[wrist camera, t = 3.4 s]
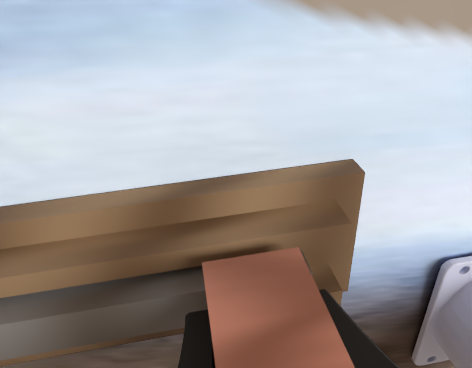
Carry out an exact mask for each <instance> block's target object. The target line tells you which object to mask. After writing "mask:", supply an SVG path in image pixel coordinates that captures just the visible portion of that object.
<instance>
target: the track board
mask: <svg viewBox="0 0 472 368" xmlns="http://www.w3.org/2000/svg"><path fill="white" fill-rule="evenodd" d="M364 176H365V172H364V171H363V170H362V169H361V167H360V166H359V165H358V164H357V163H356V162H355V161H354V160H353V159H350V160H343V161H335V162H328V163H321V164H313V165H306V166H299V167H291V168H284V169H276V170H269V171H262V172H254V173H247V174H240V175H232V176H225V177H218V178H210V179H203V180H195V181H188V182H181V183H173V184H166V185H159V186H151V187H144V188H137V189H129V190H122V191H114V192H107V193H100V194H92V195H85V196H78V197H70V198H63V199H56V200H48V201H41V202H33V203H26V204H19V205H11V206H4V207H0V298H5V297H11V296H17V295H23V294H30V293H36V292H42V291H48V290H54V289H60V288H67V287H73V286H79V285H85V284H91V283H98V282H104V281H110V280H116V279H122V278H129V277H135V276H141V275H147V274H153V273H160V272H166V271H172V270H178V269H184V268H190V267H197V266H202V262H208V261H214V260H221V259H227V258H233V257H239V256H245V255H252V254H258V253H264V252H270V251H277V250H283V249H289V248H295V247H299V249H300V250H302V252H303V254H304V256H305V258H306V260H307V262H308V264H309V267H310V269H311V271H312V277H313V279H314V281H315V283H316V285H317V288H318V290H321V289H326V290H327V291H328V292H329V293H330V294H331V296H332V297H333V298H334V299H335V300H336V302H337V303H338V304H339V305H341V299H342V292H345V291H348V285H349V278H350V271H351V264H352V257H353V251H354V244H355V237H356V230H357V224H358V217H359V210H360V203H361V196H362V190H363V183H364ZM184 330H185V328H180V329H174V330H168V331H163V332H157V333H152V334H146V335H140V336H135V337H129V338H124V339H118V340H113V341H107V342H101V343H96V344H90V345H85V346H79V347H73V348H68V349H62V350H57V351H51V352H46V353H40V354H34V355H29V356H23V357H18V358H12V359H6V360H1V361H0V366H5V365H11V364H16V363H22V362H27V361H33V360H38V359H44V358H49V357H55V356H60V355H66V354H72V353H77V352H83V351H88V350H94V349H99V348H105V347H110V346H116V345H121V344H127V343H132V342H138V341H143V340H149V339H154V338H160V337H166V336H171V335H177V334H182V333H184Z"/></svg>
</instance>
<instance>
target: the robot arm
mask: <svg viewBox="0 0 472 368" xmlns="http://www.w3.org/2000/svg"><path fill="white" fill-rule="evenodd" d="M319 292H320V294H321V296H322V298H323V301H324V303H325V305H326V307H327V309H328V311H329V313H330V316H331V318H332V320H333V322H334V324H335V326H336V328H337V331H338V333H339V335H340V337H341V339H342V341H343V344H344V346H345V348H346V350H347V352H348V354H349V356H350V359H351V361H352V363H353V365H354V367H355V368H399V367H398V366H397V365H396V364H395V363H394V362H393V361H392V360H390V359H389V358H388V357H387V356H386V355H385V354H384V353H383V352H382V351H381V350H380V349H379V348H378V346H377V345H376V344H375V343H374V342H373V341H372V340H371V339H370V338H369V337H368V336H367V335H366V334H365V333H364V332H363V331H362V330H361V329H360V328H359V327H358V325H357V324H356V323H355V322H354V321H353V320H352V319H351V318H350V317H349V315H348V314H347V313H346V312H345V311H344V310H343V309H342V307H341V306H340V305H339V304H338V303H337V302H336V300H335V299H334V298H333V297H332V296H331V294H330V293H329V292H328V291H327V290H326V289H321V290H319ZM412 360H413V362H414V363H415V365H418V366H422V365H427V364H432V363H436V362H441V361H446V360H450V361H451V362H452V364H453V365H454V367H455V368H472V256H467V257H461V258H455V259H451V260H448V261H446V262H445V263H443V264H442V266H441V268H440V271H439V274H438V277H437V280H436V283H435V286H434V289H433V293H432V296H431V299H430V302H429V305H428V308H427V311H426V314H425V317H424V320H423V324H422V327H421V330H420V333H419V336H418V339H417V342H416V345H415V348H414V351H413V355H412ZM178 368H216V366H215V359H214V351H213V343H212V336H211V328H210V321H209V313H208V309H207V310H201V311H195V312H189V313H188V314H187V315H186V316H185V330H184V338H183V344H182V350H181V355H180V360H179V365H178Z"/></svg>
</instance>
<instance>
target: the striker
mask: <svg viewBox="0 0 472 368" xmlns="http://www.w3.org/2000/svg"><path fill="white" fill-rule="evenodd" d="M207 309H208V313H209V321H210V328H211V336H212V343H213V351H214V359H215V366H216V368H355V367H354V365H353V363H352V361H351V359H350V356H349V354H348V352H347V350H346V348H345V346H344V344H343V341H342V339H341V337H340V335H339V333H338V331H337V328H336V326H335V324H334V322H333V320H332V318H331V316H330V313H329V311H328V309H327V307H326V305H325V303H324V301H323V298H322V296H321V294H320V292H319V290H318V288H317V285H316V283H315V281H314V279H313V277H312V271H311V269H310V267H309V264H308V262H307V260H306V258H305V256H304V254H303V252H302V250H300V249H299V247H295V248H289V249H283V250H277V251H270V252H264V253H258V254H252V255H245V256H239V257H233V258H227V259H221V260H214V261H208V262H202V266H197V267H190V268H184V269H178V270H172V271H166V272H160V273H153V274H147V275H141V276H135V277H129V278H122V279H116V280H110V281H104V282H98V283H91V284H85V285H79V286H73V287H67V288H60V289H54V290H48V291H42V292H36V293H30V294H23V295H17V296H11V297H5V298H0V361H1V360H6V359H12V358H18V357H23V356H29V355H34V354H40V353H46V352H51V351H57V350H62V349H68V348H73V347H79V346H85V345H90V344H96V343H101V342H107V341H113V340H118V339H124V338H129V337H135V336H140V335H146V334H152V333H157V332H163V331H168V330H174V329H180V328H185V316H186V315H187V314H188V313H189V312H195V311H201V310H207Z"/></svg>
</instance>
